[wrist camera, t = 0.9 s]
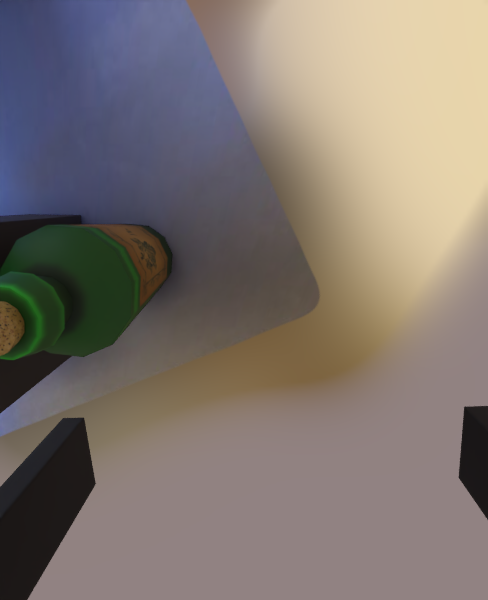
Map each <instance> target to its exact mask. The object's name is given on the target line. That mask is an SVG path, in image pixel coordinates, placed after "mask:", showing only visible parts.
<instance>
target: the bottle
mask: <svg viewBox="0 0 488 600" xmlns="http://www.w3.org/2000/svg"><path fill="white" fill-rule="evenodd" d="M171 269H172V252H171V250H170V248H169V246H168V244H167V242H166V240H165V238H164V237H163V236H162V235H160V234H159V233H158V232H156V231H155V230H153V229H152V228H151V227H149V226H143V225H134V224H81V225H46V226H44V227H42V228H40V229H38V230H36V231H34V232H32V233H30V234H28V235H26V236H24V237H22V238H20V239H17V240H16V242H15V244H14V246H13V247H12V249H11V251H10V253H9V255H8V256H7V258H6V260H5V262H4V263H3V265H2V267H1V269H0V359H6V360H16V359H19V358H22V357H25V356H29V355H32V354H35V353H38V352H40V351H42V350H45V351H47V352H49V353H53V354H62V355H71V356H79V357H84V356H87V355H89V354H91V353H94V352H96V351H98V350H101V349H103V348H105V347H108V346H110V345H112V344H113V343H114V342H115V341H116V340H117V339H118V337H119V336H120V335H121V334H122V333H123V332H124V330H125V329H126V328H127V327H128V326H129V324H130V323H131V322H132V321H133V320H134V319H135V317H136V316H137V315H138V314H139V313H140V311H141V310H142V309H143V308H144V307H145V306H146V304H147V303H148V302H149V301H150V300H151V298H152V297H153V296H154V295H155V294H156V292H157V291H158V290H159V289H160V288H161V287H162V285H163V284H164V282H165V281H166V279H167V278H168V276H169V275H170V273H171Z"/></svg>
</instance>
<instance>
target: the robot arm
mask: <svg viewBox="0 0 488 600" xmlns="http://www.w3.org/2000/svg"><path fill="white" fill-rule="evenodd" d="M463 419H464V420H463V430H462V443H461V457H460V469H459V479H460V480H461V481H462V483H463V484H464V486H465V487H466V489H467V490H468V492H469V493H470V495H471V496H472V498H473V499H474V500H475V502H476V503H477V505H478V506H479V508H480V509H481V511H482V512H483V513H484V515H485V516H486V518H487V519H488V406H475V407H464V418H463ZM95 484H96V483H95V478H94V472H93V466H92V461H91V455H90V449H89V443H88V438H87V432H86V426H85V421H84V418H63V419H62V420H61V421H60V422H59V423H58V425H57V426H56V427H55V428H54V429H53V430H52V431H51V432H50V433H49V434H48V435H47V436H46V438H45V439H44V440H43V441H42V442H41V443H40V444H39V445H38V446H37V447H36V448H35V450H34V451H33V452H32V453H31V454H30V455H29V456H28V457H27V458H26V459H25V461H24V462H23V463H22V464H21V465H20V466H19V467H18V468H17V469H16V470H15V471H14V473H13V474H12V475H11V476H10V477H9V478H8V479H7V480H6V481H5V482H4V484H3V485H2V486H1V487H0V600H27V599H28V597H29V596H30V594H31V592H32V591H33V589H34V587H35V585H36V584H37V582H38V580H39V579H40V577H41V576H42V574H43V572H44V570H45V569H46V567H47V565H48V563H49V562H50V560H51V559H52V557H53V555H54V553H55V552H56V550H57V548H58V547H59V545H60V543H61V541H62V540H63V538H64V537H65V535H66V533H67V531H68V530H69V528H70V526H71V525H72V523H73V521H74V519H75V518H76V516H77V515H78V513H79V511H80V510H81V508H82V506H83V505H84V503H85V501H86V499H87V498H88V496H89V494H90V493H91V491H92V489H93V488H94V486H95Z"/></svg>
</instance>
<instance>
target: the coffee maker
mask: <svg viewBox="0 0 488 600" xmlns="http://www.w3.org/2000/svg"><path fill="white" fill-rule="evenodd" d="M46 225H81V216H80V215H35V214H27V215H11V216H0V269H1V267H2V265H3V263H4V262H5V260H6V258H7V256H8V255H9V253H10V251H11V249H12V247H13V246H14V244H15V242H16V240H17V239H20V238H22V237H24V236H26V235H28V234H30V233H32V232H34V231H36V230H38V229H40V228H42V227H44V226H46ZM70 357H71V355H62V354H53V353H49V352H47V351H45V350H42V351H40V352H38V353H35V354H32V355H29V356H25V357H22V358H19V359H16V360H6V359H0V413H1V412H2V411H4V410H5V409H6V408H7V407H9V406H10V405H11V404H12V403H14V402H15V401H16V400H17V399H19V398H20V397H21V396H22V395H24V394H25V393H26V392H27V391H29V390H30V389H31V388H32V387H34V386H35V385H36V384H37V383H39V382H40V381H41V380H42V379H44V378H45V377H46V376H47V375H49V374H50V373H51V372H52V371H54V370H55V369H56V368H57V367H59V366H60V365H61V364H62V363H63V362H65V361H66V360H67V359H68V358H70Z"/></svg>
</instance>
